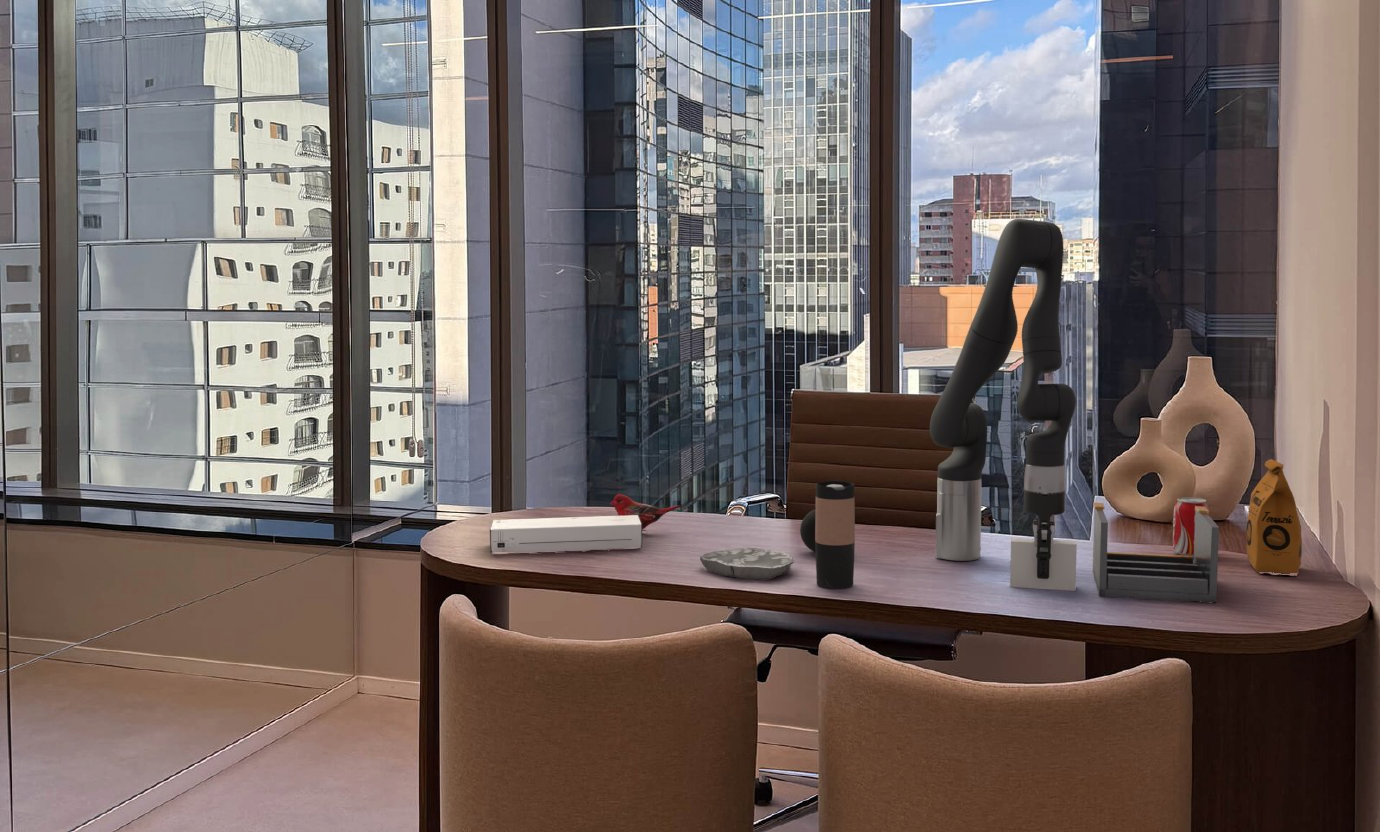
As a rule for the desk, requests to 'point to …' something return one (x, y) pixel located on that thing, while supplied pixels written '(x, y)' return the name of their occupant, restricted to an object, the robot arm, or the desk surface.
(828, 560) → the travel mug
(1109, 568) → the rack
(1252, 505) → the coffee package
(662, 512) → the decorative bird figurine
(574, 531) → the laminator
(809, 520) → the speaker
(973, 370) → the robot arm
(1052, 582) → the panel
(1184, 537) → the soda can
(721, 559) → the brain slice
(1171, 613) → the desk surface
